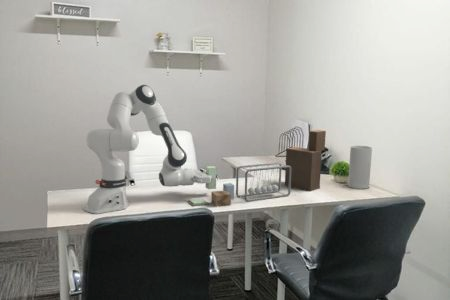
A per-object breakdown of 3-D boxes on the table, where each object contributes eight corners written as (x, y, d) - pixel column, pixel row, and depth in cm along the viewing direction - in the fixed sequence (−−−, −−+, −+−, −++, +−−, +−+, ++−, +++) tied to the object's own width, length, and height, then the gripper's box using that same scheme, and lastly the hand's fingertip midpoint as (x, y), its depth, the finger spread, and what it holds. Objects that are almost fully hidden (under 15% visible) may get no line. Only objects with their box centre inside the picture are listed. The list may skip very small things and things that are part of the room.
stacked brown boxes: (323, 187, 257) (326, 130, 251) (310, 191, 247) (313, 132, 241) (297, 181, 270) (300, 127, 264) (284, 185, 260) (286, 129, 254)
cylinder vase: (343, 185, 263) (346, 146, 259) (358, 183, 268) (361, 145, 264) (358, 190, 252) (361, 149, 248) (373, 188, 258) (376, 148, 253)
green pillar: (208, 189, 231) (208, 168, 229) (205, 187, 235) (205, 166, 233) (215, 188, 233) (216, 167, 231) (212, 186, 237) (213, 166, 235)
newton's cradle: (245, 202, 222) (246, 170, 219) (235, 197, 232) (236, 166, 229) (290, 196, 237) (291, 165, 234) (279, 191, 246) (280, 162, 243)
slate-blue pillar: (226, 200, 226) (226, 185, 225) (223, 197, 230) (223, 183, 229) (233, 199, 228) (234, 185, 226) (230, 197, 232) (230, 183, 231)
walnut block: (216, 206, 214) (216, 195, 213) (211, 202, 222) (211, 191, 221) (230, 205, 217) (230, 194, 216) (225, 201, 224) (225, 190, 223)
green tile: (192, 206, 214) (192, 204, 213) (187, 201, 222) (187, 199, 222) (209, 204, 217) (209, 202, 217) (202, 199, 225) (203, 197, 225)
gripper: (195, 175, 218) (219, 173, 223) (183, 168, 236) (206, 166, 242) (195, 187, 219) (219, 185, 224) (183, 179, 237) (205, 177, 243)
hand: (212, 175), depth 233 cm, fingers closed on green pillar, 4 cm apart
